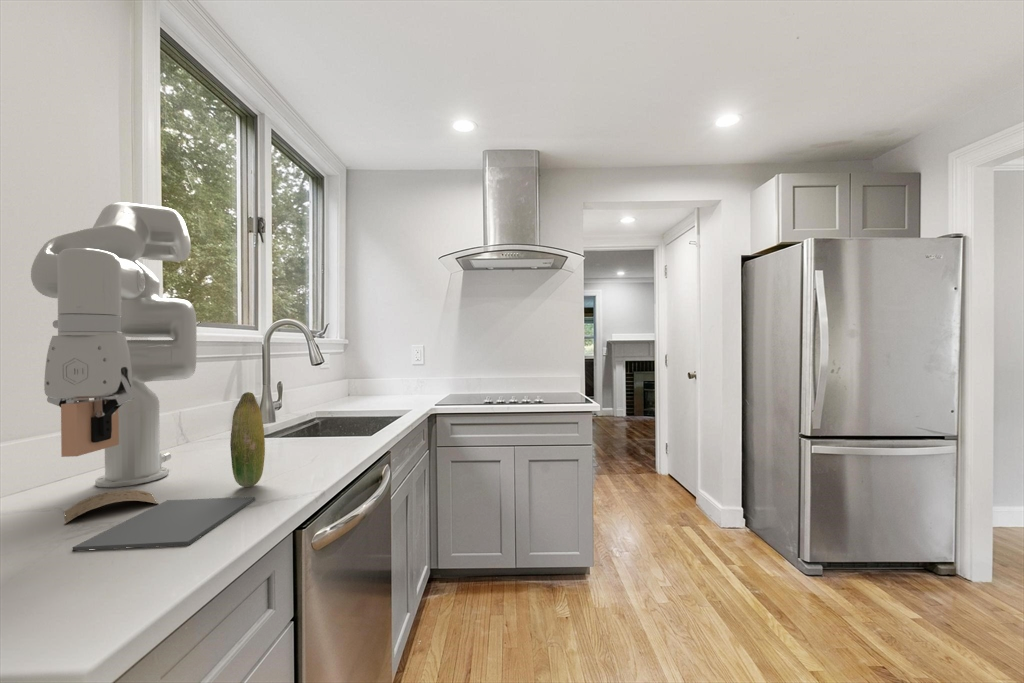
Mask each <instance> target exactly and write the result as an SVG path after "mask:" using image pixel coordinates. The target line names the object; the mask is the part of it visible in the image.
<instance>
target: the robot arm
mask: <svg viewBox="0 0 1024 683" xmlns="http://www.w3.org/2000/svg"><path fill="white" fill-rule="evenodd" d="M191 250H192V244H191V238H190V235H189V230H188V227H187V225H186V222H185V220H184V218H183V216H181V214H180V212H178V211H177V210H175V209H172V208H169V207H166V206H158V205H149V204H140V203H131V202H112V203H110V204H108V205H105V207H104V208H102V210H101V211H100V213H99V215H98V217H97V219H96V221H95V223H94V224H93V226H92V227H89V228H85V229H82V230H81V229H80V230H78V231H73V232H69V233H65V234H62V235H58V236H55V237H53V238H51V239H49V240H47V241H46V242H45V243H44V244H43V245H42V246H41V248H40V249H39V251H38V252H37V255H35V257H34V260H33V263H32V264H31V268H30V279H31V280H30V281H31V282H32V286H33V288H34V289H35V290H36V291H37V292H38V293H40V294H41V295H42V296H45V297H47V298H52V299H57V320H56V319H55V320H53V322H52V326H53V328H54V329H57V335H52V336H51V339H50V340H49V341H50V342H49V345H48V349H47V353H46V358H45V367H44V379H43V380H44V384H43V387H44V389H43V390H44V394H45V396H46V397H47V398H46V401H47V402H48V403H49V404H52V405H54V406H57V407H59V408H61V404H66V403H73V402H80V401H86V400H90V399H94V413H95V417H92V418H91V441H92V442H93V443H94V442H100V441H104V440H108V439H110V438H111V433H112V415H113V414H115V413H116V410H117V409H118V413H119V445H115V446H112V447H108V448H105V449H104V475H101V476H99V477H98V478H96V479H95V482H94V485H95V487H98V488H122V487H129V486H135V485H141V484H145V483H149V482H155V481H157V480H160V479H163V478H165V477H167V476H168V475H169V468H167V467H162V464H163V463H165V462H167V461H170V460H171V458H172V455H171V453H170V452H165V453H161V452H160V451H161V450H160V449H161V448H160V444H161V443H160V442H161V441H160V439H161V438H160V436H161V435H160V401H159V397H158V396H157V394H156V393H155V392H154V391H153V390H152V389H151V388H149V387H148V386H147V385H146V384H145V383H147V382H161V381H163V382H165V381H180V380H187V379H190V378H191V377H192V376H194V374H195V372H196V368H197V315H196V310H195V307H194V305H193V303H191V302H190V301H189V300H186V299H182V298H173V297H172V298H169V297H168V298H167V297H160V285H161V284H160V280H159V278H157V276H156V275H155V274H154V273H153V272H152V271H151V270H150V269H149V268H148V267H147V266H145V265H144V264H142V263H141V262H140V261H139V260H149V261H150V260H151V261H162V262H163V261H164V262H167V261H168V262H183V261H185V260H187V259H188V257H189V256H190V255H191V254H190V253H191ZM127 338H170V339H127ZM105 400H106V404H105Z"/></svg>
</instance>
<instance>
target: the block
mask: <svg viewBox="0 0 1024 683" xmlns="http://www.w3.org/2000/svg"><path fill="white" fill-rule="evenodd" d="M105 404H106V400H105ZM92 417H95V413H94V398H92V399H89V400H86V401H80V402H79V401H77V402H73V403H66V404H61V407H60V430H61V431H60V434H61V436H60V438H61V440H60V443H61V445H60V447H61V449H60V450H61V452H60V453H61V457H62V458H65V457H66V458H67V457H68V458H70V457H80V456H84V455H87V454H91V453H93V452H97V451H101V450H105V448H108V447H112V446H115V445H119V413H118V409H117V410H116V413H115V414H113V415H112V433H111V438H110V439H108V440H104V441H100V442H94V443H93V442H92V441H91V418H92Z"/></svg>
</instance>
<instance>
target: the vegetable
mask: <svg viewBox="0 0 1024 683" xmlns="http://www.w3.org/2000/svg"><path fill="white" fill-rule="evenodd" d="M231 420H232V422H231V431H230V443H229V445H230V457H231V469H232V470H231V471H232V474H233V477H234V482H236V483H237V485H239V486H241V487H243V488H251V487H254V486H255V485H257V484H258V483H259V481H260V480H261V478H262V475H263V473H264V465H265V457H266V449H265V448H266V447H265V446H266V440H265V429H264V424H263V417H262V411H261V408H260V405H259V404H258V402H257V398H256V396H255V394H254V393H253V392H249V391H246V392H244V393H243V394H242V395H241V397H240V399H239V401H238V403H237V404H236V406H235V408H234V411H233V414H232V419H231Z"/></svg>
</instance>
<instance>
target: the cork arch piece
mask: <svg viewBox="0 0 1024 683" xmlns="http://www.w3.org/2000/svg"><path fill="white" fill-rule="evenodd" d="M152 495H153V493H152V494H151V492H149V491H145V490H140V489H139V490H138V489H127V490H126V489H125V490H122V489H121V490H113V491H108V492H103V493H99V494H96V495H93V496H91V497H88V498H86V499H82V501H79V502H78V503H76V504H73V505H72V506H70V508H68V509H66V510H65V511H64V512H65V515H66V516H64V524H63V525H67V524H68V523H69V522H70V521H72V520H73V519H75V518H77V517H78V516H81V515H83V514H85V513H86V512H89V511H92V510H94V509H97V508H100V507H102V506H105V505H108V504H113V503H119V502H126V501H127V502H129V501H139V502H144V503H145V502H147V503H153V504H157V503H158V502H157V500H156V498H155V497H154V495H153V496H152ZM155 500H156V501H155ZM157 505H158V504H157Z"/></svg>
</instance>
